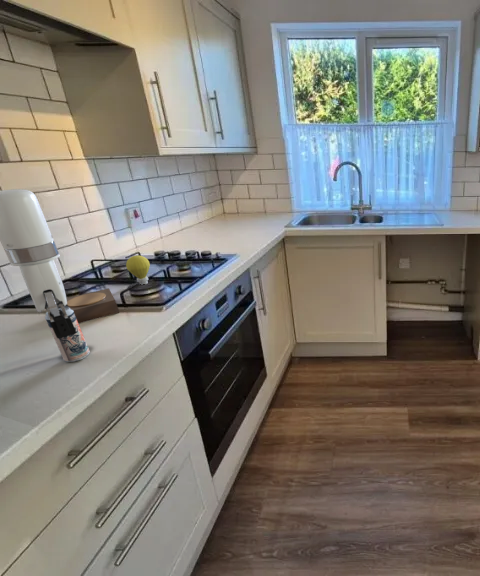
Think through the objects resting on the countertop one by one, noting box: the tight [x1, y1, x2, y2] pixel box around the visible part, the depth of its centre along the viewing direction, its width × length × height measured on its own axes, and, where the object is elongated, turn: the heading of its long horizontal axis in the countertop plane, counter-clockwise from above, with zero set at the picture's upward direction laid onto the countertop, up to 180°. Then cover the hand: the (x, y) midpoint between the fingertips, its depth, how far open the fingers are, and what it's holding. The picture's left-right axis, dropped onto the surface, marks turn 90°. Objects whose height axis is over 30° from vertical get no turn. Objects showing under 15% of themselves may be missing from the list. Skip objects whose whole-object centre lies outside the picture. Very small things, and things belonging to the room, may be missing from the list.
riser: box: [66, 288, 120, 325], centre depth 103 cm, size 12×12×4 cm
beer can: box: [44, 307, 91, 363], centre depth 80 cm, size 5×5×12 cm
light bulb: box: [125, 254, 151, 286], centre depth 122 cm, size 7×7×10 cm
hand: (65, 327), depth 80 cm, fingers open, 8 cm apart
